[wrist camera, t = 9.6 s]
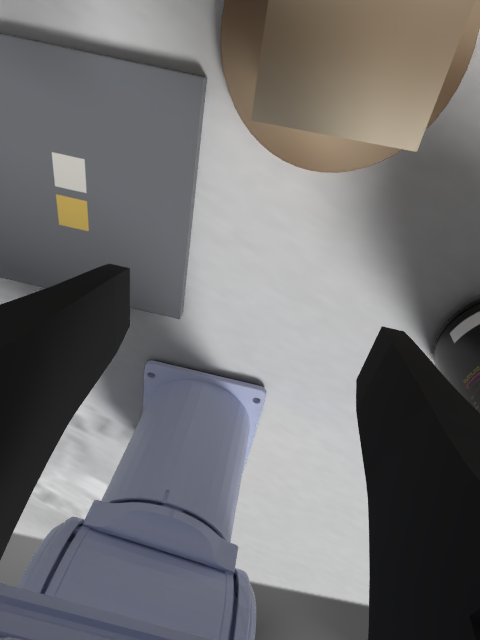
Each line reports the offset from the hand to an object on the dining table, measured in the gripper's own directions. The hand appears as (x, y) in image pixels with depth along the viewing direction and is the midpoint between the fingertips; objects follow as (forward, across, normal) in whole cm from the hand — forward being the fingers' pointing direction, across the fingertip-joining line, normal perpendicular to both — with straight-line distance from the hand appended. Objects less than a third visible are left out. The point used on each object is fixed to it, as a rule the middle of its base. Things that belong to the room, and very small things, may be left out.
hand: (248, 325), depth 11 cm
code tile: (+9, +10, +1) cm, 14 cm away
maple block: (+9, -1, -7) cm, 11 cm away
